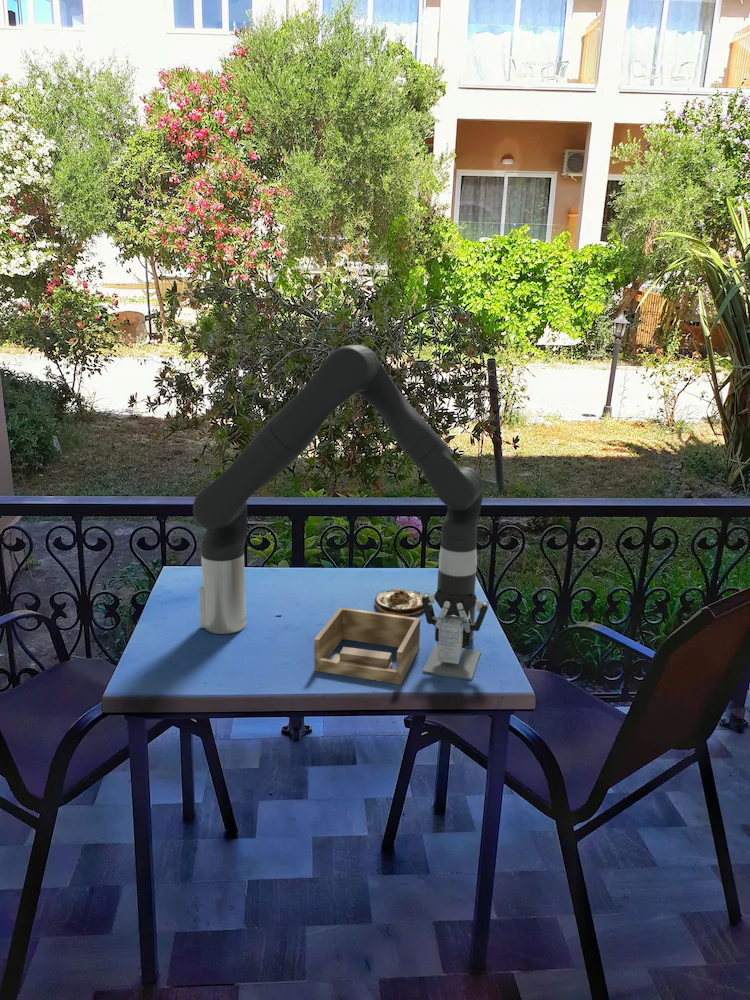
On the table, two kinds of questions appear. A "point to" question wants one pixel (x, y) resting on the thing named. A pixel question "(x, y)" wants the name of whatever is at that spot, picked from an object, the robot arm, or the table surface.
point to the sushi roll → (399, 602)
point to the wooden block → (364, 657)
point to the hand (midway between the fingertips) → (452, 644)
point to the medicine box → (450, 639)
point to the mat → (453, 665)
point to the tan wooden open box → (370, 631)
